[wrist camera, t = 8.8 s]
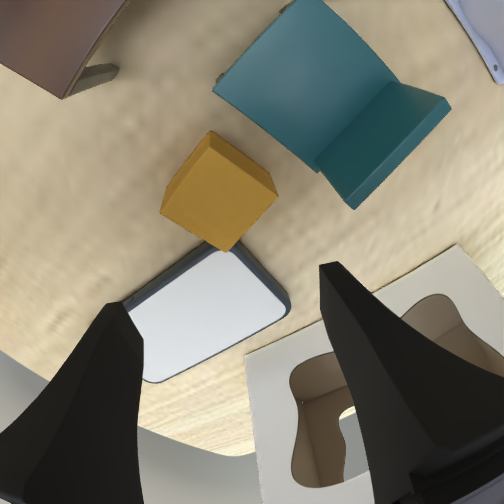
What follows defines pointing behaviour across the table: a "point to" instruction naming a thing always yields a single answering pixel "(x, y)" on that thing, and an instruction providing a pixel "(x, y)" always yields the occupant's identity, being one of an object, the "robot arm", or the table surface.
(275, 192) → the mustard yellow block
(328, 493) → the gable box
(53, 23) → the side table
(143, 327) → the phone case
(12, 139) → the table surface
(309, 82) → the chair
